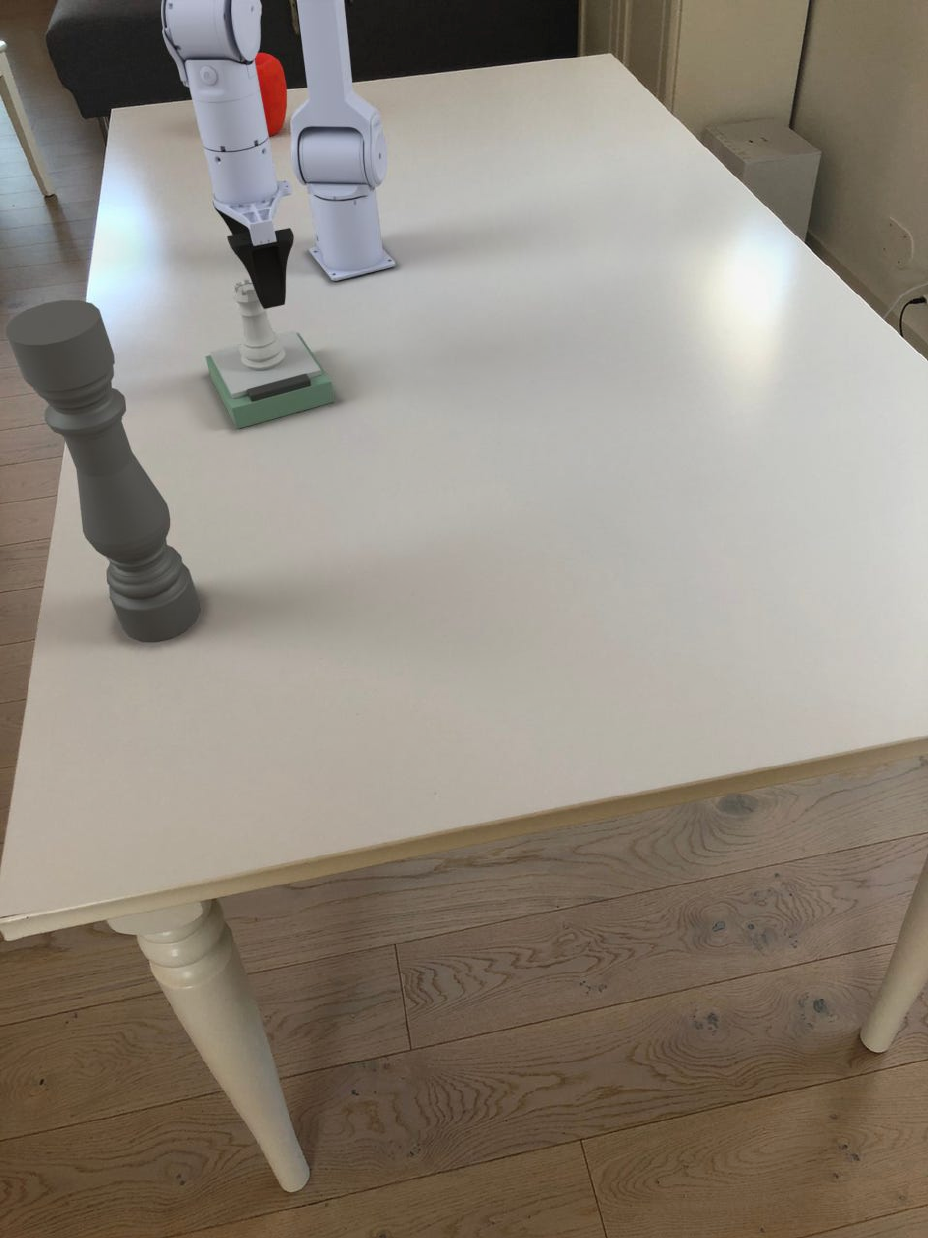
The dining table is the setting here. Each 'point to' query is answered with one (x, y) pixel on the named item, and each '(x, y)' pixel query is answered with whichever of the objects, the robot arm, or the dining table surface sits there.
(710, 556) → the dining table surface
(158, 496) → the candle holder
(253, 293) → the rook chess piece
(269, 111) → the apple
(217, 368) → the scale
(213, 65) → the robot arm
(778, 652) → the dining table surface
